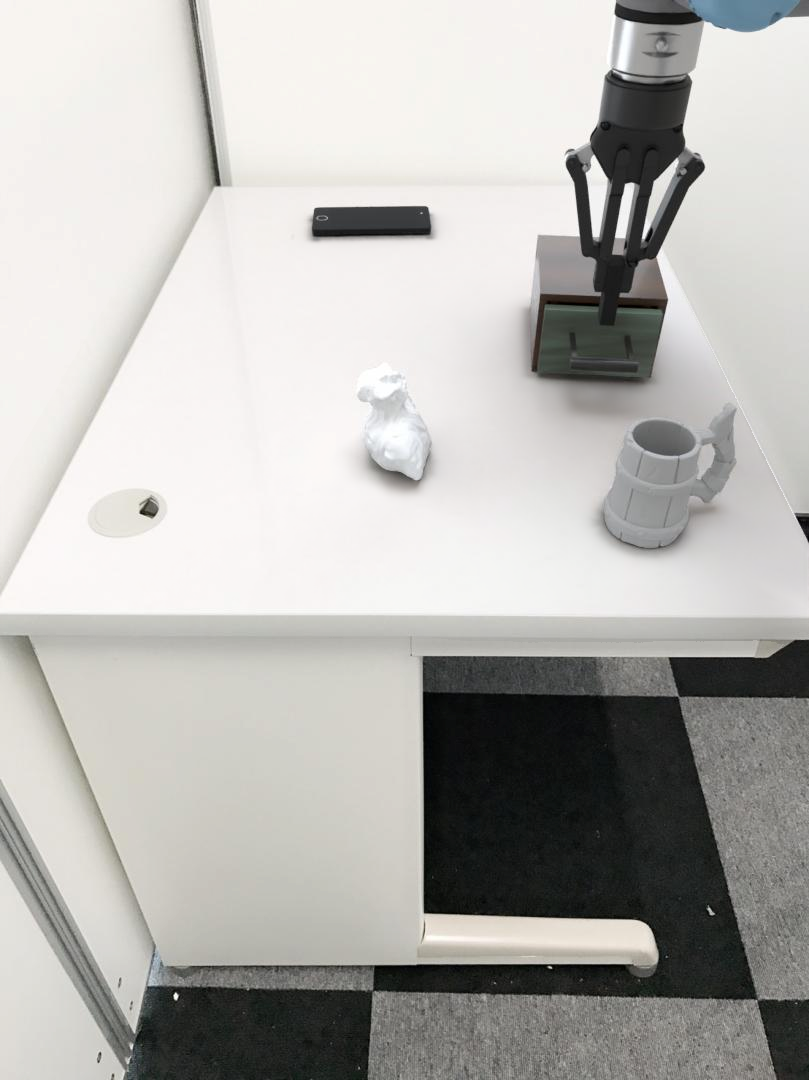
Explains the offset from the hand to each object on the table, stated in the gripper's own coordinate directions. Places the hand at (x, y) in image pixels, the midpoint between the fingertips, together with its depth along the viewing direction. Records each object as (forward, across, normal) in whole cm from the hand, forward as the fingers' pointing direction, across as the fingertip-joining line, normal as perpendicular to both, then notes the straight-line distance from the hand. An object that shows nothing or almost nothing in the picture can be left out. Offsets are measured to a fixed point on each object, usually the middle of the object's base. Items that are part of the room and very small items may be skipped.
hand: (605, 319), depth 90 cm
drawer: (+8, 0, +6) cm, 11 cm away
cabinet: (+9, 0, +12) cm, 15 cm away
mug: (+9, +5, -21) cm, 24 cm away
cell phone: (+10, -31, +45) cm, 56 cm away
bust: (+10, -21, -14) cm, 27 cm away
